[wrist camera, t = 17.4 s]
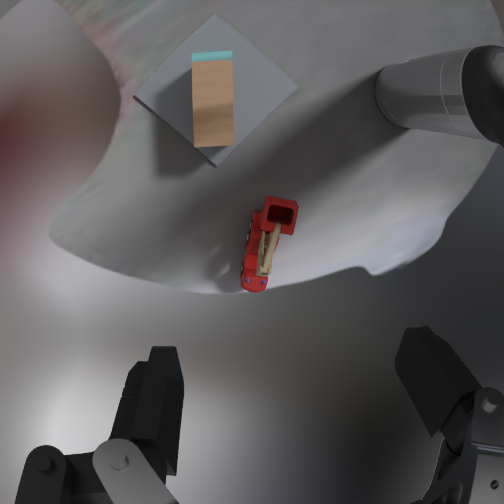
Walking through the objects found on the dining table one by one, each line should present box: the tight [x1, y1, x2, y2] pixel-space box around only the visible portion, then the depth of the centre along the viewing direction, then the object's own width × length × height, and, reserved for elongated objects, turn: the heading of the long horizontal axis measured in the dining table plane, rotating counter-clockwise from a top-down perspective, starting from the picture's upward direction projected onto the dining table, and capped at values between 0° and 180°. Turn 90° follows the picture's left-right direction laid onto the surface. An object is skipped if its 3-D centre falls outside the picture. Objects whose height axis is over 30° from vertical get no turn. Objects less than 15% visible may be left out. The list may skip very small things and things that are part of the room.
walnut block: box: [192, 51, 234, 148], centre depth 30 cm, size 6×4×10 cm
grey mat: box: [134, 14, 299, 167], centre depth 32 cm, size 14×14×1 cm
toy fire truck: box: [240, 196, 298, 292], centre depth 36 cm, size 3×14×10 cm, turn 169°
